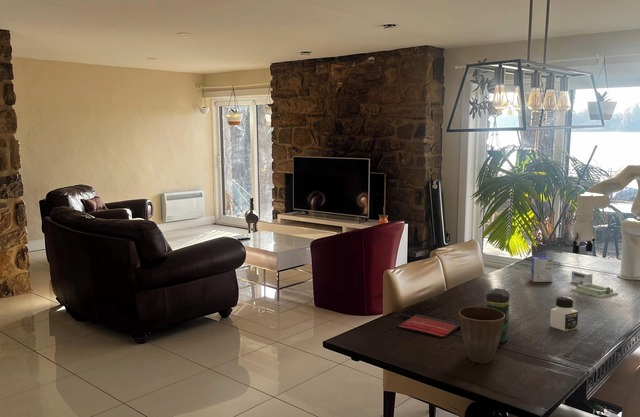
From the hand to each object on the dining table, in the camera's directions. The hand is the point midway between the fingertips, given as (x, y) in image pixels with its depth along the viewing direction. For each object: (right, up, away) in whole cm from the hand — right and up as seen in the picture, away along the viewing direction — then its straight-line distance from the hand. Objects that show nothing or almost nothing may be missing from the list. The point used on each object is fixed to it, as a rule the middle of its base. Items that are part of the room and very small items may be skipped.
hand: (582, 252), depth 282 cm
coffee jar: (-67, -26, -75) cm, 105 cm away
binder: (-90, -26, -62) cm, 112 cm away
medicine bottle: (-37, -25, -64) cm, 78 cm away
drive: (+1, -16, +2) cm, 16 cm away
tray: (-1, -18, -14) cm, 23 cm away
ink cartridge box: (-17, -16, +9) cm, 25 cm away
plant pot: (-79, -29, -95) cm, 127 cm away
